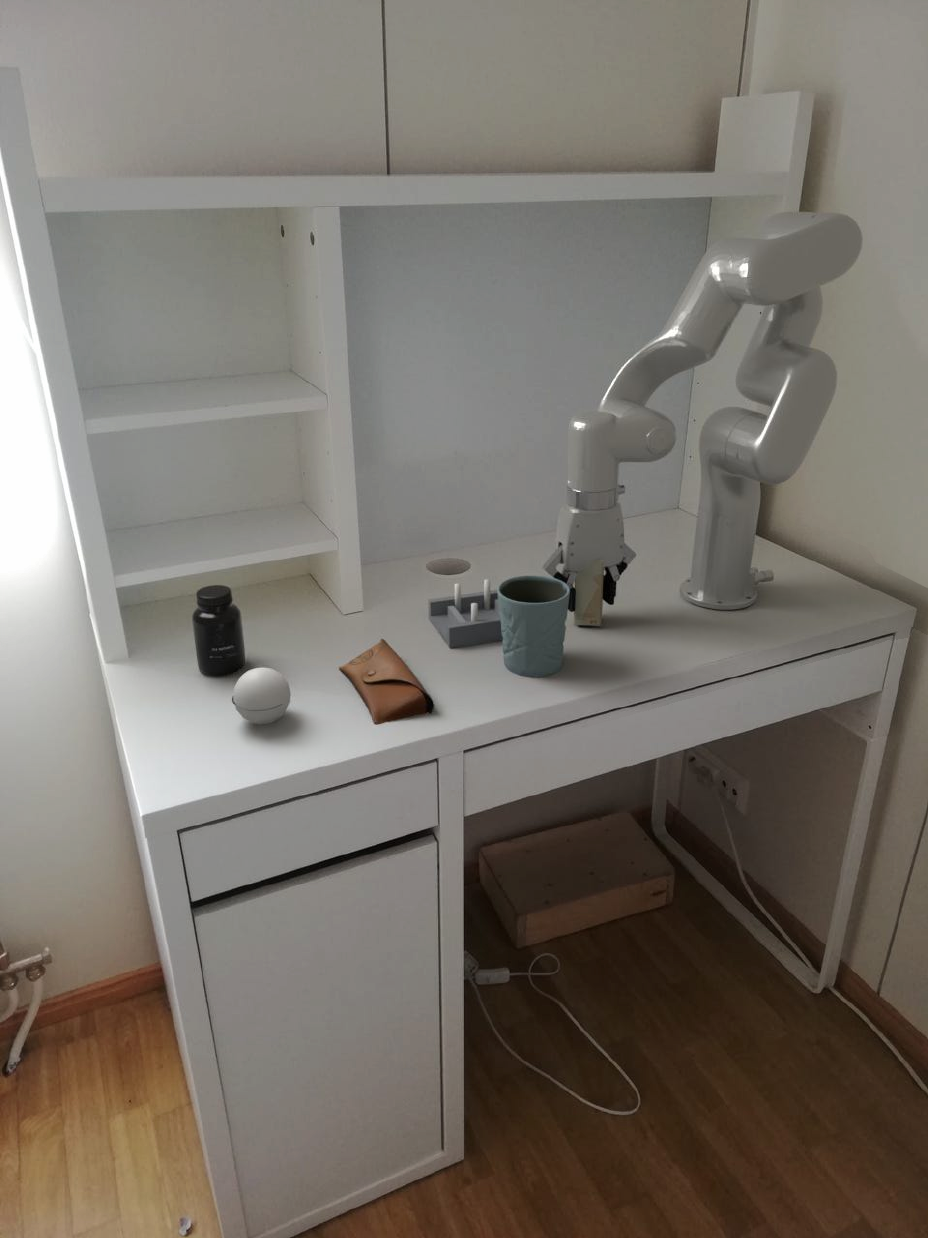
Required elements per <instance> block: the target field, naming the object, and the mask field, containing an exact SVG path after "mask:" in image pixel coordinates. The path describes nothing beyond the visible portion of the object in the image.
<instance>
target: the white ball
mask: <svg viewBox="0 0 928 1238" xmlns="http://www.w3.org/2000/svg"><path fill="white" fill-rule="evenodd" d="M232 692H233V693H232V694H233V695H232V697H231V702H232V704H233V705H234V707H235V710H236V711H237V712H238V714H240V716H241V717H242V718H243V719H245V721H248V722H250V723H252V724H257V725H265V724H270V723H274V722H275V721H277V720H278V719H280V718H281V717H282V716H283V715H284V714H285V713H286V712H287V709H288V708H289V704H290V703H291V696H292V695H291V694H292V693H291V689H290V685H289V683H288V681H287V679H286V678H285V677H284V675H282V674H281V673H280V672H278V670H275V669H273V668H269V667H255V668H252V669H249V670H247V671H246V672H245V673H243V674H242V675H241V676H240V677H239V678H238V679H237V681H236V683H235V685H234V688H233V691H232Z"/></svg>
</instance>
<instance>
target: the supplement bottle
mask: <svg viewBox="0 0 928 1238" xmlns="http://www.w3.org/2000/svg"><path fill="white" fill-rule="evenodd" d="M195 594H196V605H197V608H195V609H194V611H193V612H192V616H191V622H192V630H193V636H194V637H193V638H194V646H195V653H196V659H197V660H196V661H197V667H198V669H199V670H200V672H201V673H202V674H205V675H207V676H210V677H224V676H225V677H226V676H229V675H233V674H235V673H239V671H241V670H242V669H243V668H244V667H245V665H246V664H247V663H246V662H247V661H246V658H247V657H246V648H245V639H244V628H243V622H242V621H243V619H242V618H243V617H242V612H241V610H240V608H239V607H238V606H237V605H235V603H233V602H234V599H233V594H232V588H230V587H228V586H226V585H223V584H222V585H220V584H215V585H214V584H213V585H206V586H204V587H200V588H199V589H198V590H197V591H196V593H195Z"/></svg>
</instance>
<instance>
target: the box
mask: <svg viewBox="0 0 928 1238" xmlns="http://www.w3.org/2000/svg"><path fill="white" fill-rule="evenodd" d="M604 575H605V571H604V568H603V559H598V560H594V561H591V563H590V565H589V568H588V570H584V571H579V572H578V574H577V577H576V579H575V582H574V588H575V589H576V605H575V611H574V612H573V625H576V626H577V625H578V626H597V627H600V626H601V624H602V620H603V619H602V616H603V605H604V604H603V602H604V600H603V580H604Z"/></svg>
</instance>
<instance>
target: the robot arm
mask: <svg viewBox="0 0 928 1238" xmlns="http://www.w3.org/2000/svg"><path fill="white" fill-rule="evenodd" d="M862 247H863V233H862V230H861V227H860V225H859V224H858V222H857V221H856V220H855V219H854V218H852V217H850V216H848V215H847V214H843V213H839V212H837V213H836V212H816V211H815V212H811V211H782V212H778V213H775V214H772V215H770V216H768V217H767V218H766V219H764V220H763V222H761V224H760V226H759V227H758V230H757V232H756V236H755V238H749V237H748V238H747V237H727V238H723V239H720V240H718V241H715V242H714V243H713V244H712V245H711V246H709V248H708V249H707V250H706V251H705V253H704V255H703V256H702V258H701V260H700V261H699V263H698V265H697V266H696V268H695V270H694V272H693V274H692V276H691V278H690V280H689V281H688V283H687V285H686V287H685V289H684V291H683V292H682V295H681V296H680V297H679V299H678V301H677V303H676V305H675V307H674V309H673V311H672V312H671V314H670V316H669V318H668V320H667V321H666V323H665V325H664V327H663V328H662V329H661V331H660V332H659V333H658V334H657V335H656V336H654V337H653V338H652V339H651V340H649V341H648V342H646V344H644V346H642V347H640V349H639V350H638V351H636V352H635V354H634V355H633V356H631V357H630V358H629V359H628V360H627V361H626V362H625V363H624V364H623V365H622V366H621V368H620V369H619V370H618V371H617V373H616V375H615V376H614V377H613V378H612V381H611V383H610V385H609V386H608V388H607V390H606V392H605V393H604V396H603V397H602V399H601V402H599V405H598V407H597V411H585V412H580V413H576V414H574V415H573V416H572V417H571V419H570V421H569V423H568V429H567V430H568V432H567V433H568V435H567V436H568V437H567V439H568V440H567V441H568V442H567V483H566V484H567V487H566V502H565V503H563V504H561V507H560V510H559V514H558V520H557V525H556V531H555V532H556V533H555V541H554V552H553V553H552V555H551V556H549V558H548V559H547V560H546V561H545V563H544V564H543V565H542V569H543V570H544V571H545V572H546V573H547V574H548V575H550V577H552V578H556V579H558V580H561V581H562V582H564V583H566V584H567V585H568V587H569V588H570V595H569V603H568V611H569V612H570V613H574V611H575V605H576V589H575V586H574V585H575V579H576V577H577V574H578V572H579V571H584V570H588V568H589V565H590V563H591V561H594V560H598V559H603V568H604V580H603V602H604V601H605V603H607V604H608V605H609V606H613V605H615V604H614V603H615V597H616V596H617V582H618V581H619V580H620V579H621V575H622V574H623V573H624V571H626V570H627V568H628V565H630V564H631V563H632V561H633V560H635V558H636V557H637V553H636V552H635V551H634V550H633V549H632V548H631V547H630V546H629V545H628V544H626V543H625V527H624V525H625V523H624V519H623V518H624V517H623V511H622V507H621V505H622V504H621V503H620V502H619V495H622V494H625V493H626V487H625V485H624V484H619V470H620V468H619V467H620V463H652V462H656V461H659V460H661V459H664V458H665V457H666V456H668V454H669V453H671V451H672V450H673V448H674V447H675V445H676V443H677V442H676V441H677V436H678V435H677V429H676V426H675V424H674V422H673V421H672V420H671V419H670V418H669V417H668V416H667V415H665V414H664V413H662V412H660V411H658V410H655V409H653V408H649V407H647V406H646V405H647V403H648V402H649V400H650V398H651V396H652V395H653V394H654V393H655V392H656V391H657V390H658V389H659V387H660V386H661V385H662V384H664V383H665V382H666V381H668V380H669V379H671V378H672V377H674V376H676V375H678V374H680V373H682V372H686V371H688V370H691V369H694V368H696V367H699V366H702V365H704V364H706V363H708V362H710V361H711V360H712V359H714V357H715V356H716V354H717V353H718V351H719V349H720V347H721V346H722V343H723V342H724V340H725V338H726V336H727V334H728V333H729V331H730V329H731V328H732V325H733V324H734V323H735V320H736V319H737V317H738V315H739V314H740V312H741V311H742V309H743V306H744V305H745V304H747V305H753V306H761V307H763V308H762V312H761V314H760V317H759V320H758V322H757V324H756V326H755V328H754V331H753V333H752V336H751V338H750V340H749V342H748V345H747V347H746V349H745V352H744V354H743V356H742V359H741V361H740V363H739V366H738V368H737V371H736V374H735V386H736V389H737V391H738V393H739V394H740V395H741V396H742V397H744V398H745V399H747V400H749V401H752V402H754V403H757V404H760V405H763V406H768V407H770V410H769V412H768V413H767V415H766V414H764V413H761V412H759V411H756V410H751V409H748V408H745V407H740V406H727V407H722V408H719V409H717V410H716V411H714V412H713V413H711V414H710V415H709V416H708V417H707V418H706V420H705V421H704V423H703V425H702V427H701V430H700V433H699V441H698V445H699V446H698V449H699V450H698V451H699V459H700V460H699V461H700V486H699V488H700V489H699V498H698V499H699V500H698V505H697V515H696V516H697V517H696V526H695V535H694V543H693V553H692V560H691V571H690V577H689V578H686V579H684V580H683V581H682V582H681V583H680V585H679V593H680V595H681V597H682V598H683V599H684V600H686V601H687V602H689V603H691V604H694V605H696V606H699V607H701V608H707V609H712V610H721V611H722V610H723V611H728V610H729V611H731V610H733V611H734V610H739V609H744V608H747V607H750V606H752V605H753V604H754V603H756V600H757V596H758V595H757V593H758V592H757V590H756V588H755V586H756V585H758V584H759V583H767V582H772V581H773V580H774V578H775V574H774V573H775V572H773V570H771V569H766V570H760V571H759V569H758V568H757V567H752V560H753V555H754V546H755V541H756V532H757V527H758V526H757V525H758V518H759V511H760V505H761V485H760V484H761V483H762V484H765V485H771V486H772V485H778V484H783V483H785V482H786V481H788V480H790V478H792V477H793V476H794V475H795V474H796V473H797V471H798V470H799V469H800V467H801V465H802V464H803V462H804V461H805V459H806V456H807V455H808V453H809V450H810V449H811V446H812V444H813V442H814V440H815V438H816V436H817V434H818V431H819V429H820V428H821V426H822V423H823V421H824V419H825V416H826V415H827V412H828V411H829V408H830V406H831V403H832V402H833V399H834V396H835V393H836V390H837V382H838V373H837V372H838V371H837V368H836V363H834V360H833V358H832V357H831V356H830V355H829V354H827V353H826V352H825V351H823V350H820V349H818V348H816V347H815V348H813V347H811V344H812V342H813V340H814V336H815V334H816V332H817V329H818V326H819V324H820V321H821V318H822V314H823V307H824V306H823V304H824V303H823V294H822V288H821V286H823V285H825V284H828V283H831V282H833V281H835V280H837V279H838V278H840V277H842V276H844V275H845V274H846V273H847V272H848V271H849V270H850V269H851V268H852V267H853V266H854V264H856V262H857V261H858V260H857V259H858V258H859V257H860V254H861V251H862ZM560 564H561V565H563V566H562V570H561V572H560V571H559V570H558V569H557V567H558V565H560Z"/></svg>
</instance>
